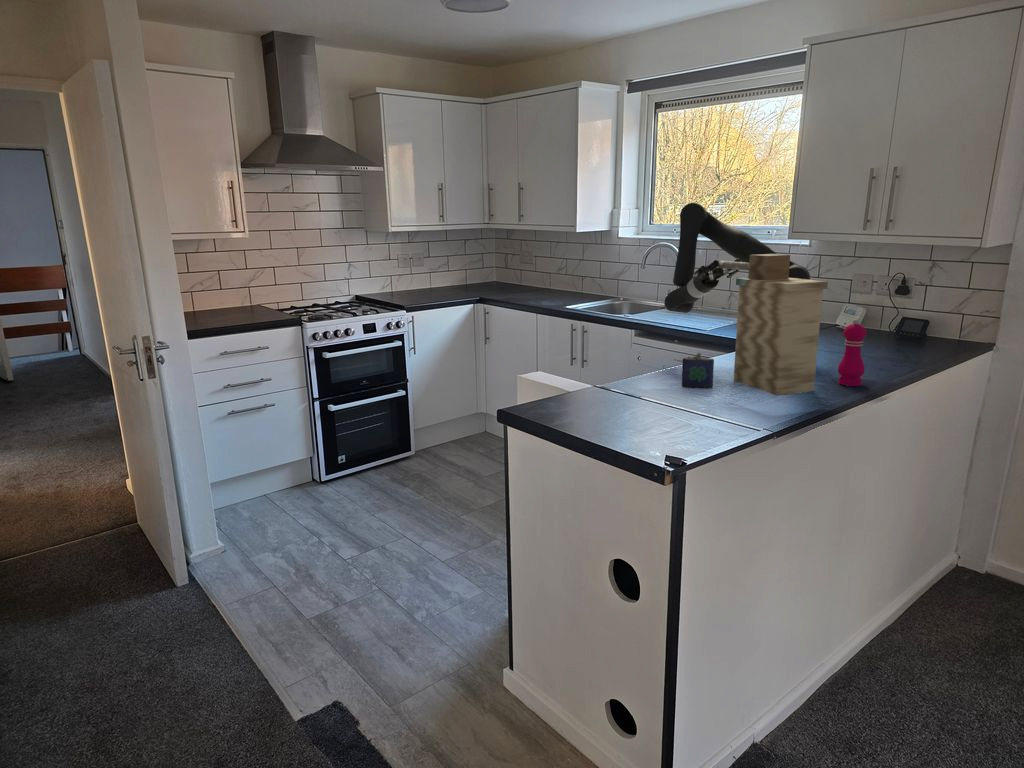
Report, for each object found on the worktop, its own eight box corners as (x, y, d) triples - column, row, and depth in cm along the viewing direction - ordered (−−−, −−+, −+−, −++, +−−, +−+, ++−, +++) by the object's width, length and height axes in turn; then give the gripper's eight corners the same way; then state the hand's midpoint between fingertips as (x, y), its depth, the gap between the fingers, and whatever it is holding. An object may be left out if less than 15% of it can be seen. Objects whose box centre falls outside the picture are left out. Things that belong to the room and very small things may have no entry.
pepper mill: (830, 382, 201) (837, 318, 196) (848, 380, 204) (855, 316, 199) (850, 388, 194) (857, 321, 190) (868, 385, 197) (875, 319, 192)
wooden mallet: (709, 273, 217) (710, 252, 215) (730, 272, 219) (731, 251, 218) (765, 280, 191) (767, 255, 190) (788, 279, 194) (790, 254, 192)
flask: (712, 386, 200) (714, 352, 198) (713, 389, 197) (714, 354, 195) (681, 385, 202) (682, 351, 200) (681, 388, 199) (682, 353, 197)
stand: (730, 380, 207) (736, 278, 200) (767, 375, 212) (774, 276, 204) (778, 396, 187) (786, 284, 179) (817, 391, 191) (827, 281, 183)
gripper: (681, 274, 227) (706, 252, 212) (717, 272, 232) (744, 250, 217) (687, 294, 225) (712, 273, 210) (722, 292, 230) (750, 271, 215)
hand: (728, 261), depth 213 cm, fingers open, 8 cm apart
